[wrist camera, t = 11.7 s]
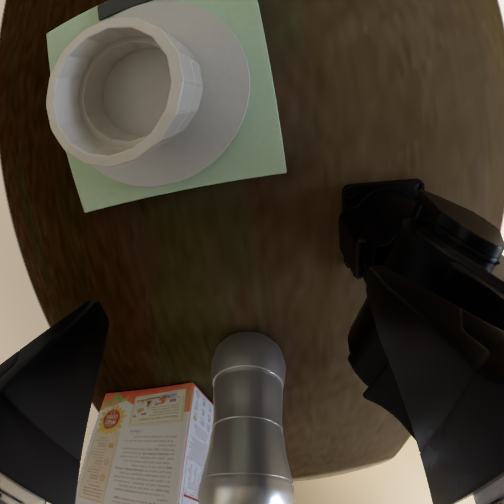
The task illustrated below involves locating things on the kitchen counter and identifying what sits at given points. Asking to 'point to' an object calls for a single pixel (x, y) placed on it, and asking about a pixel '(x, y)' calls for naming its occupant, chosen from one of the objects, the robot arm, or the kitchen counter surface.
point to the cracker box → (148, 447)
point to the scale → (210, 108)
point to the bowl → (122, 91)
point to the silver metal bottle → (247, 425)
